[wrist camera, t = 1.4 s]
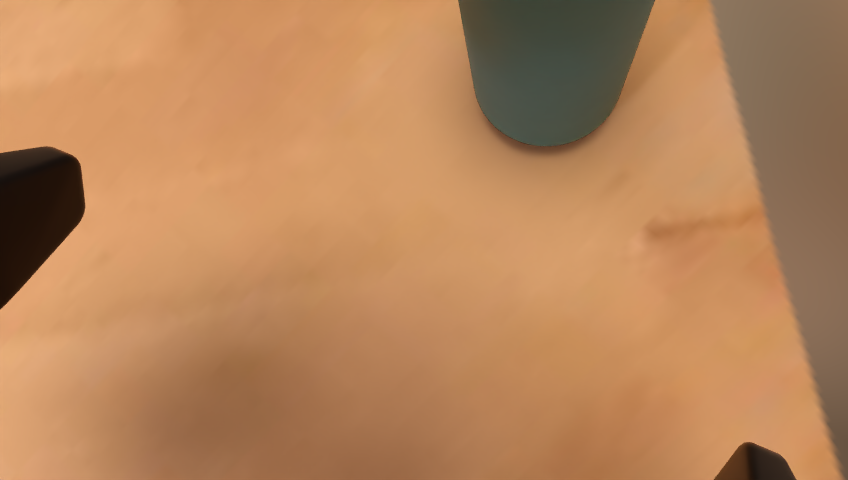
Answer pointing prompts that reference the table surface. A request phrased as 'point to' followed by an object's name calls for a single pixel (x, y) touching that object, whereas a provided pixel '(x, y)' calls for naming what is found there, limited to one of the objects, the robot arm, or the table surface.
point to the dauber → (551, 62)
